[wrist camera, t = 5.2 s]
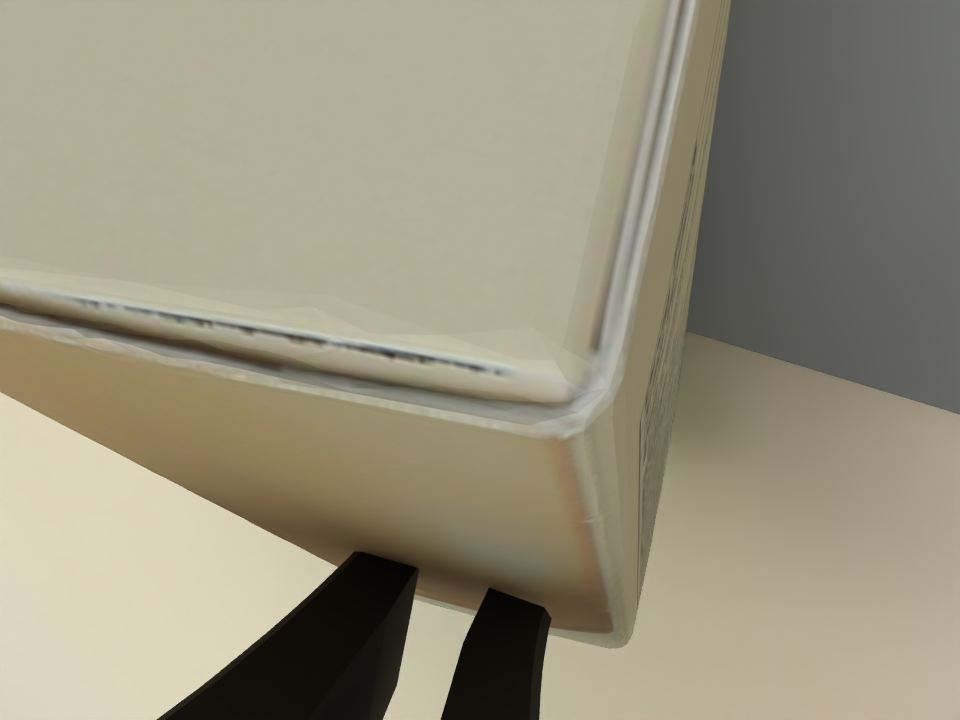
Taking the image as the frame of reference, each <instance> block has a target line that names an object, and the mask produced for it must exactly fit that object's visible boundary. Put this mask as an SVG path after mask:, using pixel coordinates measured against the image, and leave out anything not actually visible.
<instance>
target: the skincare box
mask: <svg viewBox="0 0 960 720" xmlns="http://www.w3.org/2000/svg"><path fill="white" fill-rule="evenodd" d="M730 5H731V0H0V392H2V393H4V394H5V395H7V396H9V397H11V398H13V399H15V400H17V401H19V402H21V403H22V404H24V405H26V406H28V407H30V408H32V409H34V410H36V411H38V412H40V413H41V414H43V415H45V416H47V417H49V418H51V419H53V420H55V421H57V422H58V423H60V424H62V425H64V426H66V427H68V428H70V429H72V430H74V431H76V432H78V433H80V434H82V435H83V436H85V437H87V438H89V439H91V440H93V441H95V442H97V443H99V444H101V445H103V446H105V447H107V448H109V449H111V450H113V451H115V452H116V453H118V454H120V455H122V456H124V457H126V458H128V459H130V460H132V461H133V462H135V463H137V464H139V465H141V466H143V467H145V468H147V469H149V470H150V471H152V472H154V473H156V474H158V475H160V476H163V477H165V478H167V479H169V480H170V481H172V482H174V483H176V484H178V485H180V486H182V487H184V488H186V489H187V490H189V491H191V492H193V493H195V494H197V495H199V496H201V497H203V498H205V499H207V500H209V501H211V502H213V503H215V504H217V505H219V506H221V507H222V508H224V509H226V510H228V511H230V512H232V513H234V514H236V515H238V516H240V517H242V518H244V519H246V520H248V521H249V522H251V523H253V524H255V525H257V526H259V527H261V528H263V529H265V530H267V531H268V532H270V533H272V534H274V535H276V536H278V537H280V538H282V539H284V540H286V541H288V542H291V543H293V544H295V545H297V546H299V547H300V548H302V549H304V550H306V551H308V552H310V553H311V554H313V555H315V556H317V557H319V558H321V559H323V560H325V561H327V562H329V563H331V564H333V565H335V566H337V567H339V566H340V565H341V564H342V563H343V562H344V561H345V560H346V559H347V558H348V557H349V556H350V555H351V554H352V553H353V552H354V551H355V552H364V553H367V554H371V555H374V556H378V557H381V558H385V559H388V560H392V561H395V562H399V563H403V564H406V565H410V566H413V567H417V568H418V569H419V574H418V579H417V584H416V589H415V594H414V599H415V600H419V601H422V602H426V603H429V604H433V605H436V606H440V607H444V608H448V609H452V610H455V611H459V612H463V613H467V614H470V615H474V616H476V614H477V612H478V609H479V607H480V605H481V603H482V601H483V599H484V597H485V595H486V593H487V590H488V588H492V589H495V590H498V591H500V592H503V593H506V594H509V595H512V596H514V597H517V598H520V599H523V600H526V601H528V602H531V603H534V604H537V605H540V606H542V607H545V609H546V610H547V612H548V613H549V615H550V617H551V618H552V620H551V624H550V627H549V632H548V634H549V635H554V636H558V637H563V638H567V639H571V640H575V641H579V642H583V643H588V644H592V645H596V646H601V647H605V648H620V647H623V646H624V645H626V644H627V643H628V641H629V640H630V638H631V635H632V633H633V628H634V624H635V619H636V614H637V609H638V604H639V599H640V595H641V590H642V585H643V580H644V576H645V571H646V566H647V561H648V556H649V551H650V546H651V541H652V536H653V530H654V524H655V519H656V513H657V508H658V503H659V498H660V493H661V488H662V482H663V476H664V470H665V464H666V458H667V452H668V446H669V440H670V435H671V429H672V422H673V416H674V409H675V403H676V397H677V390H678V384H679V377H680V371H681V364H682V356H683V349H684V341H685V333H686V326H687V318H688V310H689V301H690V294H691V286H692V279H693V272H694V265H695V256H696V248H697V240H698V232H699V223H700V217H701V210H702V203H703V197H704V189H705V182H706V174H707V167H708V159H709V152H710V145H711V138H712V130H713V123H714V116H715V108H716V101H717V94H718V87H719V81H720V74H721V68H722V61H723V55H724V48H725V42H726V35H727V28H728V20H729V13H730Z"/></svg>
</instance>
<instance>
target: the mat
mask: <svg viewBox="0 0 960 720" xmlns="http://www.w3.org/2000/svg"><path fill="white" fill-rule="evenodd" d="M686 331H688V332H692V333H695V334H698V335H702V336H705V337H708V338H711V339H715V340H718V341H721V342H725V343H728V344H731V345H734V346H738V347H741V348H744V349H747V350H751V351H754V352H757V353H761V354H764V355H767V356H770V357H774V358H777V359H780V360H783V361H787V362H790V363H793V364H797V365H800V366H803V367H806V368H810V369H813V370H816V371H820V372H823V373H826V374H829V375H833V376H836V377H839V378H842V379H846V380H849V381H852V382H856V383H859V384H862V385H865V386H869V387H872V388H875V389H878V390H882V391H885V392H888V393H892V394H895V395H898V396H901V397H905V398H908V399H911V400H915V401H918V402H921V403H924V404H928V405H931V406H934V407H937V408H941V409H944V410H947V411H951V412H954V413H957V414H960V0H731V5H730V13H729V20H728V28H727V35H726V42H725V48H724V55H723V61H722V68H721V74H720V81H719V87H718V94H717V101H716V108H715V116H714V123H713V130H712V138H711V145H710V152H709V159H708V167H707V174H706V182H705V189H704V197H703V203H702V210H701V217H700V223H699V232H698V240H697V248H696V256H695V265H694V272H693V279H692V286H691V294H690V301H689V310H688V318H687V326H686Z"/></svg>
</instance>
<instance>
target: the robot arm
mask: <svg viewBox="0 0 960 720" xmlns="http://www.w3.org/2000/svg"><path fill="white" fill-rule="evenodd" d="M418 574H419V569H418V568H417V567H413V566H410V565H406V564H403V563H399V562H395V561H392V560H388V559H385V558H381V557H378V556H374V555H371V554H367V553H364V552H355V551H354V552H353V553H352V554H351V555H350V556H349V557H348V558H347V559H346V560H345V561H344V562H343V563H342V564H341V565H340V566H339V567H338V568H337V569H336V570H335V571H334V572H333V573H332V574H331V575H330V576H329V577H328V578H327V579H326V580H325V581H324V582H323V583H322V584H321V585H320V586H319V587H318V588H316V589H315V590H314V591H313V592H312V593H311V594H310V595H309V596H308V597H307V598H306V599H305V600H303V601H302V602H301V603H300V604H299V605H298V606H297V607H296V608H295V609H293V610H292V611H291V612H290V613H289V614H288V615H287V616H285V617H284V618H283V619H282V620H281V621H280V622H279V623H278V624H276V625H275V626H274V627H273V628H272V629H271V630H270V631H268V632H267V633H266V634H265V635H264V636H262V637H261V638H260V639H259V640H257V641H256V642H255V643H254V644H253V645H251V646H250V647H249V648H248V649H247V650H245V651H244V652H243V653H242V654H241V655H239V656H238V657H237V658H236V659H234V660H233V661H232V662H231V663H230V664H228V665H227V666H226V667H225V668H224V669H222V670H221V671H220V672H219V673H217V674H216V675H215V676H214V677H213V678H211V679H210V680H209V681H207V682H206V683H205V684H204V685H202V686H201V687H200V688H199V689H197V690H196V691H195V692H193V693H192V694H191V695H189V696H188V697H187V698H185V699H184V700H182V701H181V702H180V703H178V704H177V705H176V706H174V707H173V708H172V709H170V710H169V711H168V712H166V713H165V714H164V715H162V716H161V717H160V718H158V719H157V720H383V717H384V715H385V712H386V710H387V708H388V705H389V703H390V700H391V698H392V695H393V693H394V691H395V688H396V686H397V682H398V676H399V671H400V666H401V661H402V656H403V651H404V646H405V641H406V635H407V630H408V625H409V620H410V615H411V610H412V605H413V600H414V594H415V589H416V584H417V579H418ZM551 620H552V618H551V617H550V615H549V613H548V612H547V610H546V609H545V607H542V606H540V605H537V604H534V603H531V602H528V601H526V600H523V599H520V598H517V597H514V596H512V595H509V594H506V593H503V592H500V591H498V590H495V589H492V588H488V590H487V593H486V595H485V597H484V599H483V601H482V603H481V605H480V607H479V609H478V612H477V614H476V616H475V618H474V620H473V622H472V625H471V627H470V629H469V631H468V633H467V636H466V638H465V640H464V642H463V646H462V649H461V652H460V656H459V659H458V663H457V666H456V669H455V673H454V676H453V680H452V683H451V686H450V690H449V693H448V697H447V700H446V703H445V707H444V710H443V714H442V717H441V720H539V713H540V692H541V681H542V670H543V662H544V654H545V648H546V642H547V636H548V632H549V627H550V624H551Z"/></svg>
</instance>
